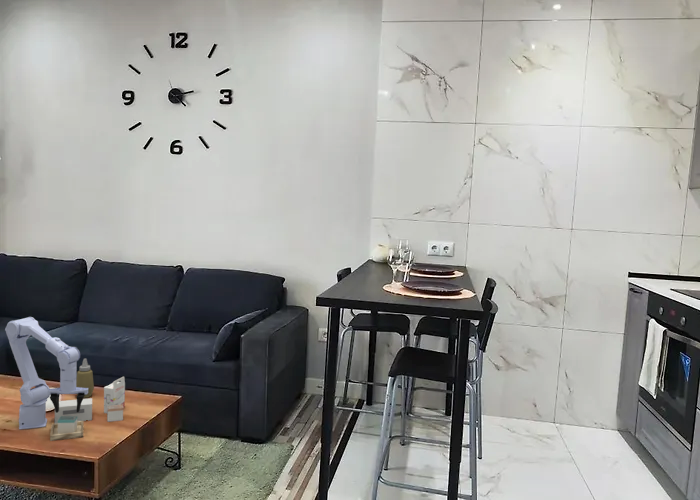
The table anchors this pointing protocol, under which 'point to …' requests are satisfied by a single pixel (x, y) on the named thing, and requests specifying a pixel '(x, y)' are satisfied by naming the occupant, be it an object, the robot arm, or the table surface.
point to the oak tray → (76, 434)
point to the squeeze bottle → (85, 378)
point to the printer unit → (75, 410)
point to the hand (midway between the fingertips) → (67, 411)
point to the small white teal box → (67, 424)
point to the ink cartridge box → (114, 394)
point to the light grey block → (115, 413)
